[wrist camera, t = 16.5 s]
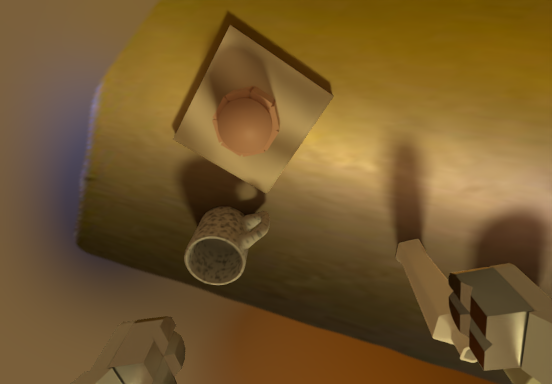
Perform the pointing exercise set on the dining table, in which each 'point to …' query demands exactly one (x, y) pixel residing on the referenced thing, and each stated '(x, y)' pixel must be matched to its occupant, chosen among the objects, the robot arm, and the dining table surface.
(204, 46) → the dining table surface
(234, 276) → the mug
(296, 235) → the dining table surface
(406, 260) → the perfume bottle
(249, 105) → the cap
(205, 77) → the board
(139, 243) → the dining table surface
